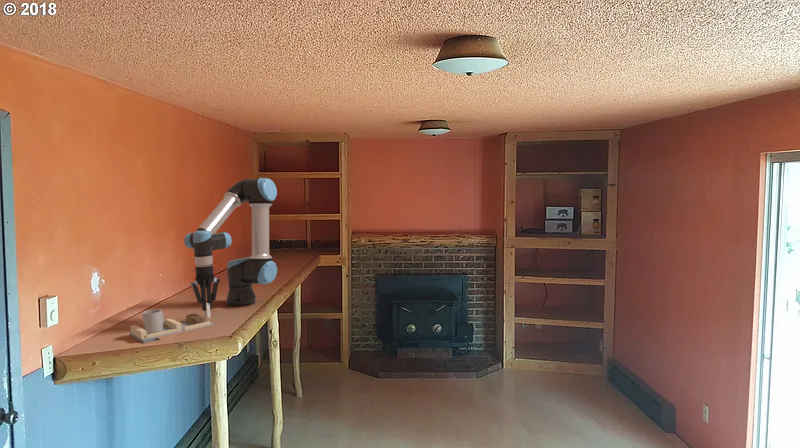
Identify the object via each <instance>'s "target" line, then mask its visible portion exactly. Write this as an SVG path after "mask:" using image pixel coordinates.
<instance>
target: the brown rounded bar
mask: <svg viewBox="0 0 800 448" xmlns="http://www.w3.org/2000/svg"><path fill="white" fill-rule="evenodd" d="M185 316H186V317H185V318H186V320H187V322H188V323H191V324H193V325H195V324H199V323H204V322H206V320H207V318H206V317H205V316H202V315H200V314H197V313H190V314H186V315H185Z"/></svg>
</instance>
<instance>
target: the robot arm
mask: <svg viewBox="0 0 800 448" xmlns="http://www.w3.org/2000/svg"><path fill="white" fill-rule="evenodd" d="M277 195H278V190H277V187H276V184H275V183H274V181H273V180H272V179H270V178H267V177H257V178H245V179H241V180H239V181H237V182H235V183H234V184H233V185H232V186H231V187H230V188H228V190H227V191H226V192H225V193H224V194H223V198H222V199H221V201H220V202H219V203H218V204H217V205H216V206H215V208H213V210H212V211H211V212H210V214H208V216H207V217H206V218H205V219H204V221H203V222H202V223H201V224H200V225H199V226H198V227H197V229H196V230H195V231H194V232H189V233H187V234H186V235H185V237H184V239H183V243H184V245H185V247H186V248H187V249H191V250H193V252H194V265H195V267H194V268H195V269H194V270H195V278H194V280H193V282H190V286H191V287H192V289H193V292H194V296H195V299H196V301H197V303H199V304H201V307H202V308H201V309H202V310H201V311H204V317H206V319H210V318H211V310H212V309H213V305H212V304H213V302H214V301H216V299H217V293H218V287H219V284H220V282H221V279H220V278H218V277H215V275H214V265H213V264H214V261H213V259H214V257H213V251H216V250H224V249H227V248H230V247H231V244H232V236H231V235H230V233H228V232H223V231H221V232H218V230H219V229H220V227H221V226H222V225H223V224H224V223H225V221H226V220H227V219H228V218H229V216H230V215H231V214H232V213H233V212H234V211H235V209H236V208H239V207H240V206H241V205H242V204H243V203H246V202H248V206H249V207H250V208H251V255H250V256H248V257H243V258H237V259H232V260H229V261H228V262H227V267H226V270H227V272H226V273H227V282H228V292H227V295H226V298H225V301H226V303H225V304H226V305H227V306H245V305H250V304H254V303H256V302H257V296H256V294H255V291H254V288H253V284H255V285H256V284H257V285H258V284H259V285H269V284H271V283H272V282H273V281H274V280H275V279H276V276H277V273H278V266H277V265H276V262H274V261H273V257H272V256H271V255H270V207H272V206H273V201H275V200H276V197H277ZM198 285H199V287H198Z"/></svg>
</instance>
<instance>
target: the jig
mask: <svg viewBox="0 0 800 448" xmlns="http://www.w3.org/2000/svg"><path fill="white" fill-rule="evenodd" d="M213 325H216V323H214V322H212V321H209V320H207V319H206V322H204V323H199V324H195V325H193V324H191V323H188V322H187V320H186V317H185V318H181V319H176V320H174V319H172V318H164V323H163V331H162V332H157V333H153V334H148V335H147V332H146V330H144V327H143V328H142V327H141V326H138V325H136V324H135V325H130V331H129V335H130V336H131V337H132V338H134V339H135V340H137V341H140V342H141V343H142V344H146V343H151V342H155V341H159V340H161V338H160V337H164V336H169V335H174V334H178V333H182V332H188V331H193V330H195V329H200V328H205V327H210V326H213Z"/></svg>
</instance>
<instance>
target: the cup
mask: <svg viewBox="0 0 800 448" xmlns="http://www.w3.org/2000/svg"><path fill="white" fill-rule="evenodd" d="M162 311H163V310H162V309H150V310H145V311H142V323H143V328H144V330H146V332H147V335H148V334H153V333H157V332H162V331H163V324H165V316H164V312H162Z"/></svg>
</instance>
